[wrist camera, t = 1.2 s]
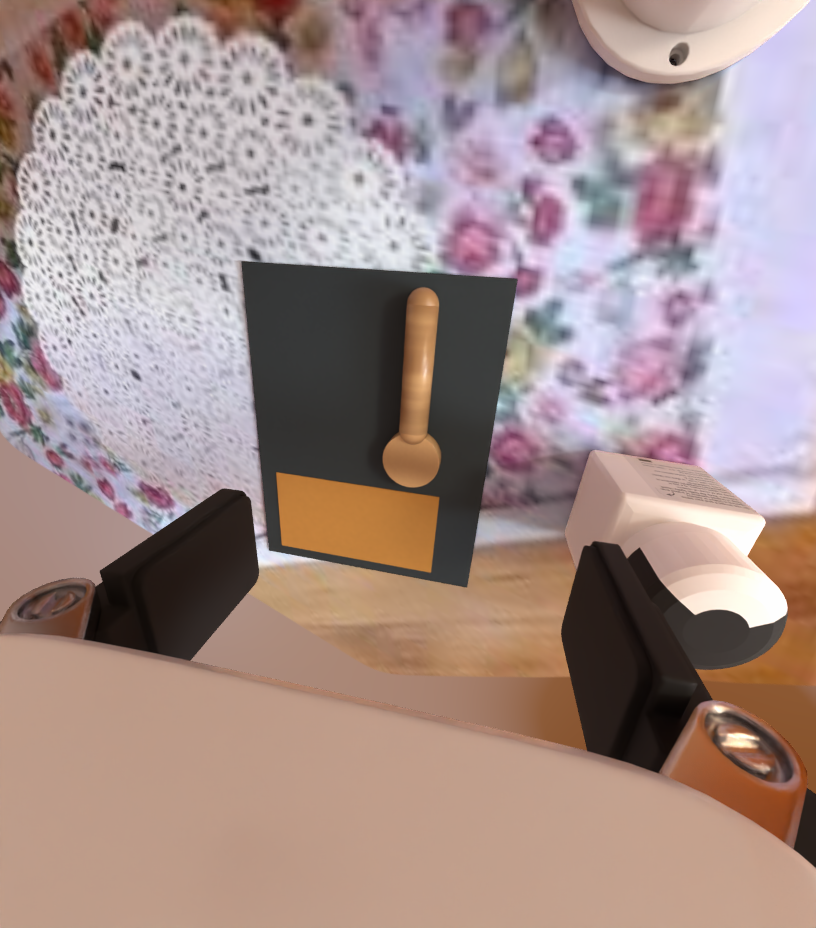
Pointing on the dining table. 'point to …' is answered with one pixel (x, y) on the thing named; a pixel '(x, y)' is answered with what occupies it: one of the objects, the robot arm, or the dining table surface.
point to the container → (683, 552)
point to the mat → (371, 413)
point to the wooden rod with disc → (416, 397)
